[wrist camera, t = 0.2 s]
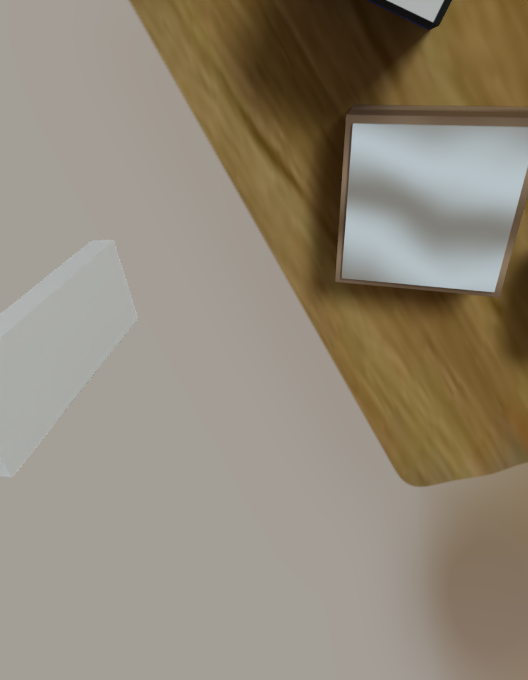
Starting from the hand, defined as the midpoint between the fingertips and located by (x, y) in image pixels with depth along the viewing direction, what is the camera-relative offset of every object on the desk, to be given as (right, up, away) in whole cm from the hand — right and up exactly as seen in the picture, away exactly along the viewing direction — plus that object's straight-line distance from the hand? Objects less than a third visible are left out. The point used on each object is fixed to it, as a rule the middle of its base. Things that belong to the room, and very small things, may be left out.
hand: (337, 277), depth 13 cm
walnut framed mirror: (+11, +10, +24) cm, 28 cm away
